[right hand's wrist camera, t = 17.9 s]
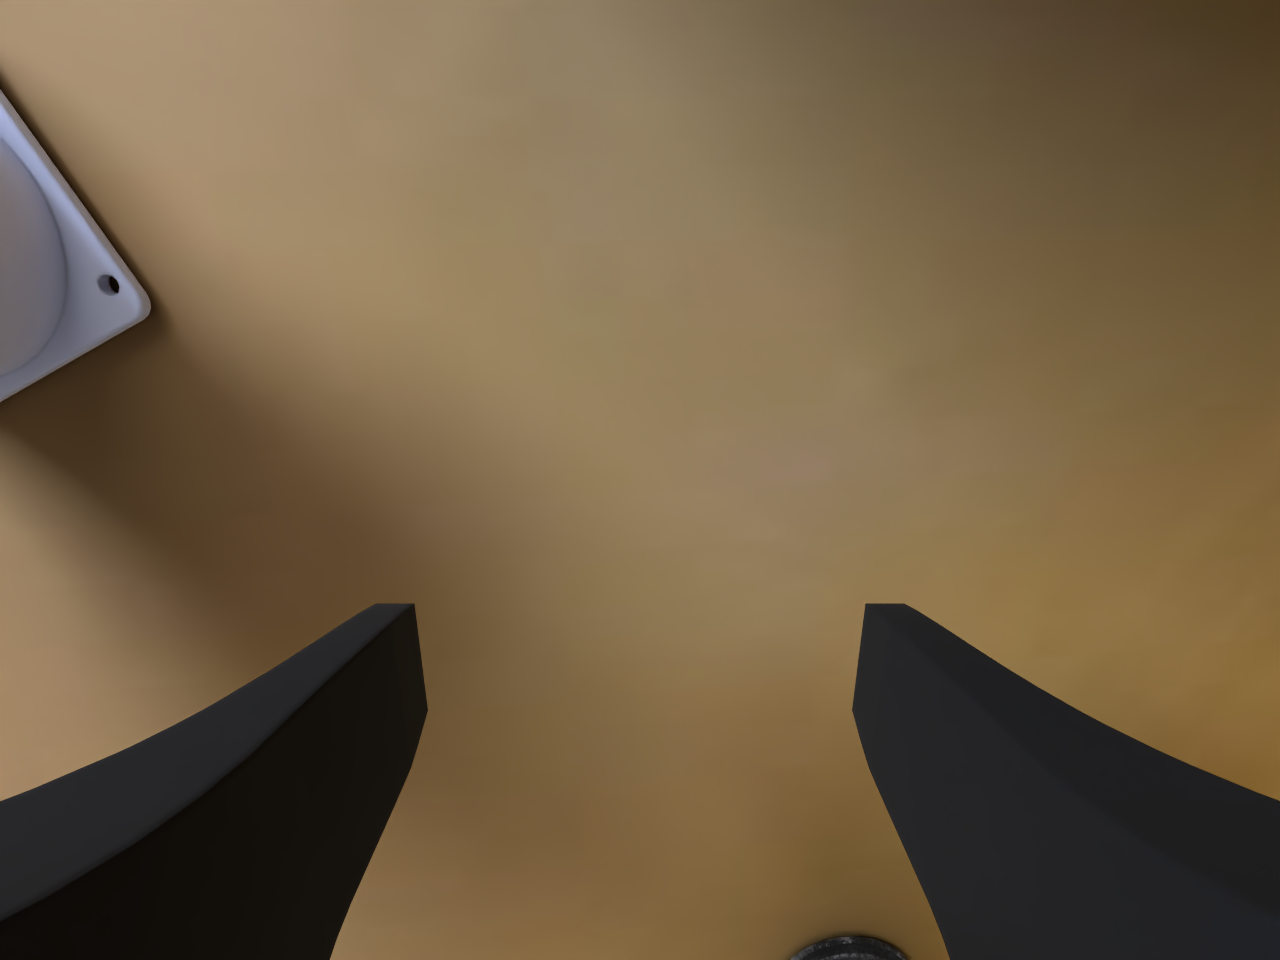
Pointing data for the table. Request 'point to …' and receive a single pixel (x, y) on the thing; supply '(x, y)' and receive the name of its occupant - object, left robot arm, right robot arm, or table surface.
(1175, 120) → the table surface
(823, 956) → the grey tall tapered piece
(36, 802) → the right robot arm
